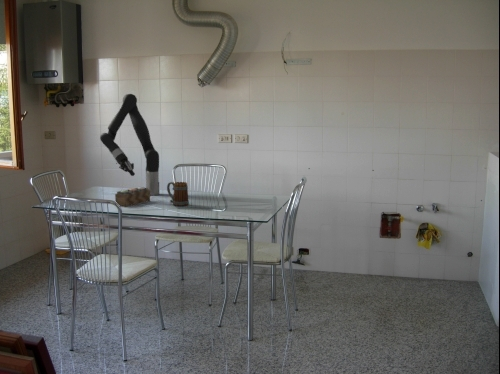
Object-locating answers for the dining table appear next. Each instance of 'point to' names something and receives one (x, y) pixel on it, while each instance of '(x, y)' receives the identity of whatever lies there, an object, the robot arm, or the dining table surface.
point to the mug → (179, 194)
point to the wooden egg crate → (132, 197)
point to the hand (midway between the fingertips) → (133, 175)
